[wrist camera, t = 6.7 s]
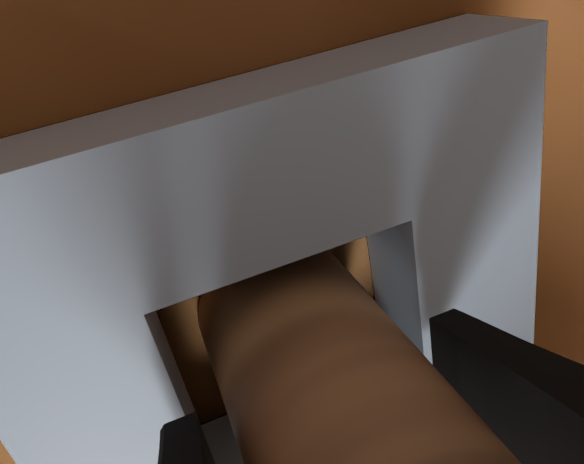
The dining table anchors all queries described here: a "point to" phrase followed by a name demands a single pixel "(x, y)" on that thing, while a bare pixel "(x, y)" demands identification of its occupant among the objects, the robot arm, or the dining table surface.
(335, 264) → the dowel
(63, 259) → the socket block
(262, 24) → the dining table surface
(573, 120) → the dining table surface
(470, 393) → the robot arm
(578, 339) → the dining table surface
